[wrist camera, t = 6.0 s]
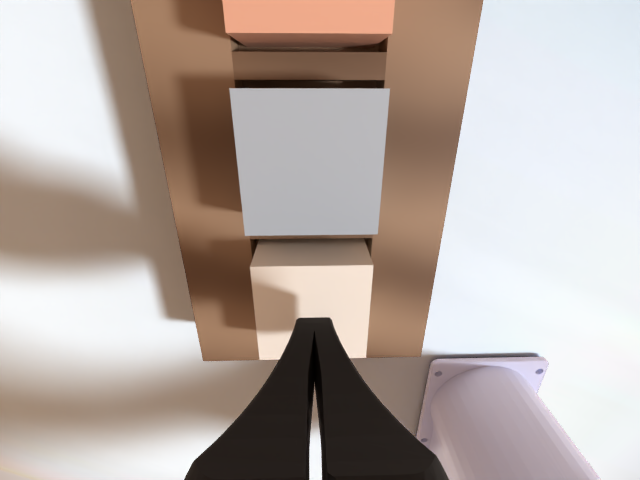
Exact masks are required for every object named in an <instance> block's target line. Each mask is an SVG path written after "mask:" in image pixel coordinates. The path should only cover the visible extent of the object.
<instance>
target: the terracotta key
mask: <svg viewBox="0 0 640 480" xmlns="http://www.w3.org/2000/svg"><path fill="white" fill-rule="evenodd" d="M222 2H223V11H224V21H225V31H226V33H227V34H228V35H230V36H231V37H233V38H234V39H236V40H237V41H239V42H240V43H241V44H243V45H244V46H246V47H344V48H372V47H374V46H375V45H377V44H378V43H380V42H381V41H383V40H384V39H385V38H387V37H388V36H390V35H391V34H392V32H393V20H394V8H395V0H222Z"/></svg>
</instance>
